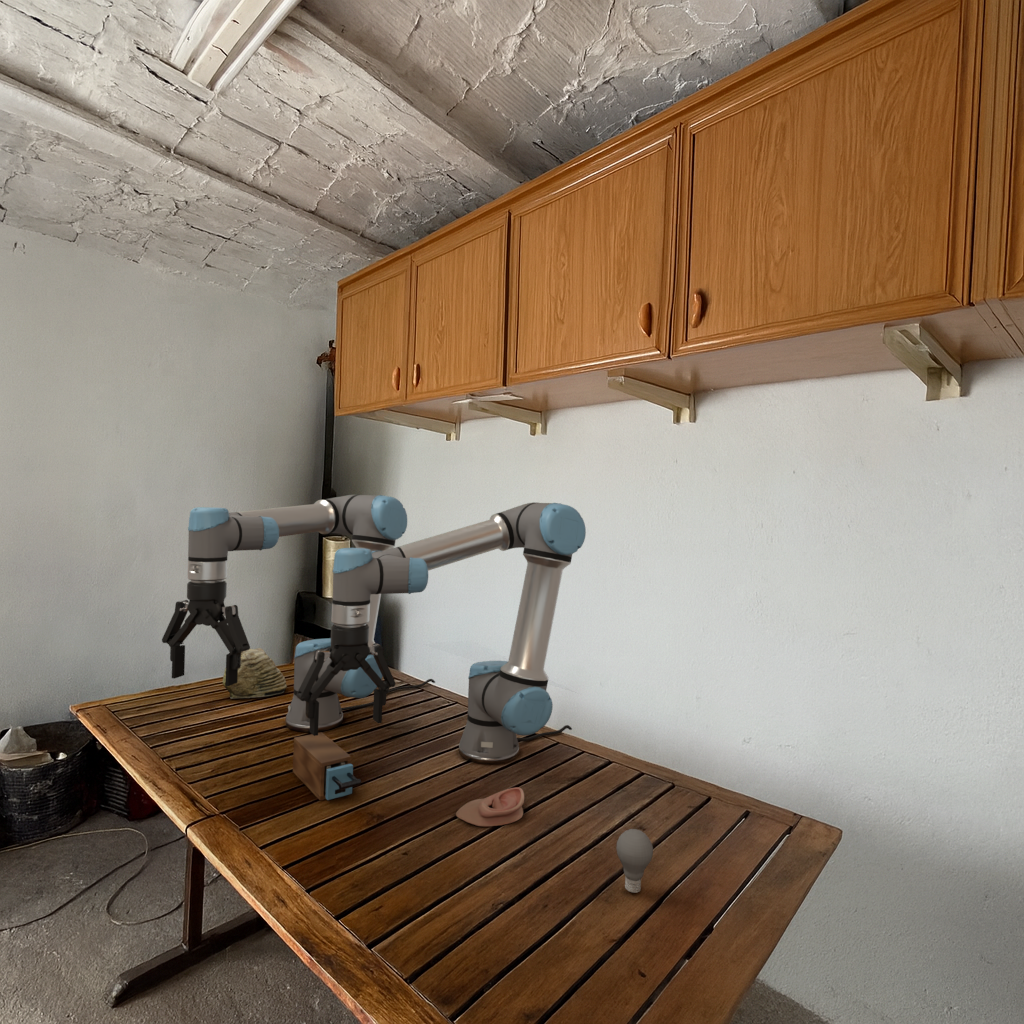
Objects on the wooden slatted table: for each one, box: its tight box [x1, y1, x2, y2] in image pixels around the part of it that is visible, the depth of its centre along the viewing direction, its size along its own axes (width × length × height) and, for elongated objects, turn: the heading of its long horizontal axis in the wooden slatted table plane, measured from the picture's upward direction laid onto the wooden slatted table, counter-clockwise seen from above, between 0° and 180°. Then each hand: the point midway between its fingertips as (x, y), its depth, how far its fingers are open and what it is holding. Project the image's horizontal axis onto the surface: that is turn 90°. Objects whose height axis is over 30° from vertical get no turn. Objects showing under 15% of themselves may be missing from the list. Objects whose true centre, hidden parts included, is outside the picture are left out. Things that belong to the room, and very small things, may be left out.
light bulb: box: [615, 828, 654, 894], centre depth 106 cm, size 6×6×10 cm
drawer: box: [324, 762, 362, 801], centre depth 136 cm, size 21×5×6 cm, turn 38°
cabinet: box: [292, 731, 352, 801], centre depth 141 cm, size 16×7×8 cm, turn 38°
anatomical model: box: [455, 786, 525, 827], centre depth 129 cm, size 13×4×12 cm
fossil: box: [222, 647, 288, 699], centre depth 198 cm, size 9×18×15 cm, turn 132°
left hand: (204, 680), depth 134 cm, fingers open, 13 cm apart
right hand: (346, 727), depth 130 cm, fingers open, 13 cm apart
